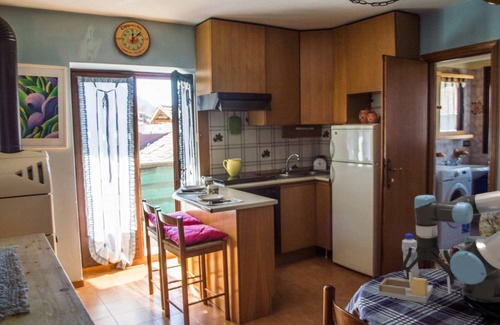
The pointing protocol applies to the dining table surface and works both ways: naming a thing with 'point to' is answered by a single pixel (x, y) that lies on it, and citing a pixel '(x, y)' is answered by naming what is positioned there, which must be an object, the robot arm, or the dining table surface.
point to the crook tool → (399, 279)
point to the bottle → (405, 246)
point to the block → (419, 286)
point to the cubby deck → (401, 290)
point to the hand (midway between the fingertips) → (430, 290)
